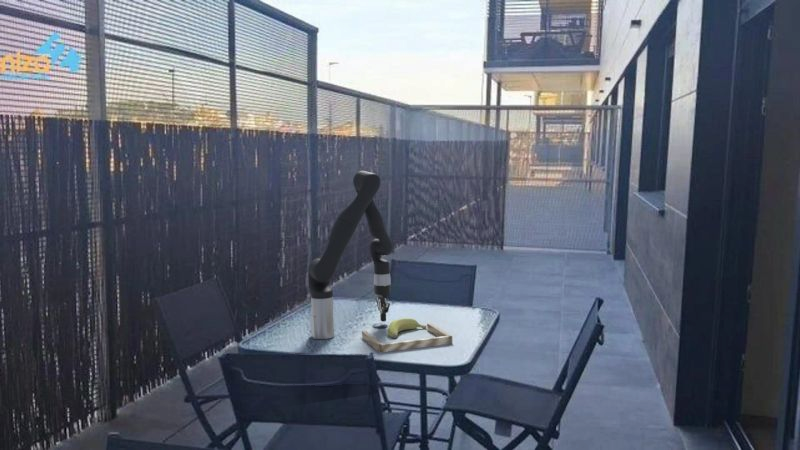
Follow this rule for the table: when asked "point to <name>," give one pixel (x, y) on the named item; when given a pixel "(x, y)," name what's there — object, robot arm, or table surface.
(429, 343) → the wooden rimmed tray
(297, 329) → the table surface
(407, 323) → the banana
